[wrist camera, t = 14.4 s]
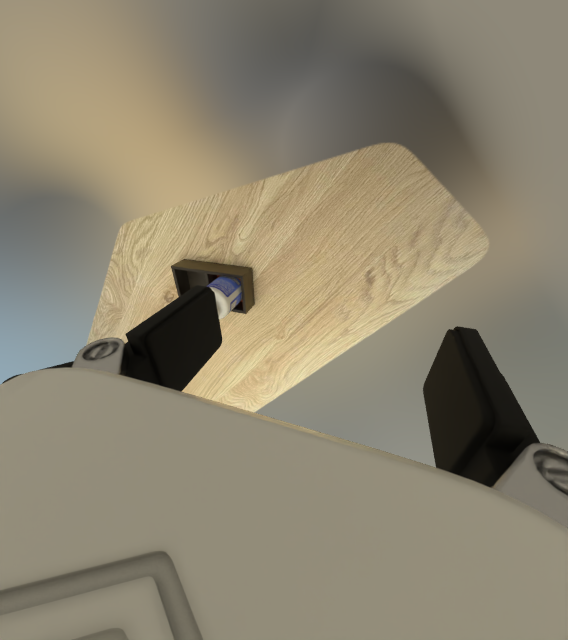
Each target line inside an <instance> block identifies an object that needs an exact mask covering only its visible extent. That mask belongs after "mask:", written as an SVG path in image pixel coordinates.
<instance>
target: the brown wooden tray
mask: <svg viewBox="0 0 568 640" xmlns="http://www.w3.org/2000/svg"><path fill="white" fill-rule="evenodd" d="M171 268H172V272H173V276H174V280H175V284H176V288H177V292H178V296H179V297H180V296H181V295H183V294H184V293H186V292H187V291H189V290H190V289H192V288H193V287H195V286H196V285H200V286H208V285H209V284H210V283H212V282H213V281H214V280H215V279H217V278H218V277H219V276H227V277H234V278H240V281H241V291H242V300H241V301H240V302H239V303H238V304H237V305H236V306H235V307H234V308H233V309H232V310H231V311H233V312H238V313H244V314H247V312H248V311H249V310H250V309H251V308H252V307H253V305H254V289H253V275H252V268H248V267H240V266H232V265H225V264H217V263H209V262H201V261H194V260H186V259H184V260H182V261H180V262H178V263H176V264H174V265H172V266H171Z"/></svg>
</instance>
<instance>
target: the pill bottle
mask: <svg viewBox="0 0 568 640" xmlns="http://www.w3.org/2000/svg"><path fill="white" fill-rule="evenodd" d="M206 287H210V288H211V289H212V291H214V293H215V298H216V304H217V310H218V316H219V319H222V318H224V317H225V316H227V315H228V314H229V312H230V311H231V310H232V309H233V308H234V307H235V306H236V305H237V304H238V303H239V302H240V301H241V300H242V291H241V281H240V278H234V277H227V276H219V277H218V278H217V279H215V280H214V281H213V282H212V283H210V284H209V285H208V286H206Z"/></svg>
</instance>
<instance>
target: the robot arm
mask: <svg viewBox="0 0 568 640" xmlns="http://www.w3.org/2000/svg"><path fill="white" fill-rule="evenodd" d="M126 336H127V339H128V342H127V343H126V344H124V342H123V341H122V340H121V339H119V338H104V339H100V340H97V341H95V342H92V343H90V344H88V345H87V346H85V347H84V348H83V349H81V350H80V351H79V353H78V354H77V356H76V359H75V361H73V362H69V363H65V364H61V365H57V366H53V367H49V368H45V369H41V370H37V371H32V372H28V373H25V374H20V375H16V376H13V377H11V378H9V379H7V380H6V381H4V382H3V384H1V385H0V640H568V451H566V450H564V449H561V448H559V447H556V446H553V445H550V444H544V443H540V442H539V440H538V438H537V436H536V434H535V433H534V431H533V429H532V427H531V425H530V423H529V422H528V420H527V418H526V416H525V414H524V413H523V411H522V409H521V407H520V405H519V404H518V402H517V400H516V398H515V396H514V394H513V393H512V391H511V389H510V387H509V385H508V383H507V382H506V381H505V378H504V376H503V375H502V374H501V373H500V371H499V370H498V368H497V366H496V364H495V362H494V361H493V359H492V357H491V355H490V353H489V351H488V349H487V348H486V346H485V344H484V342H483V340H482V339H481V336H480V335H479V333H478V331H477V330H476V329H470V328H464V327H455V328H454V330H450V329H449V330H448V331H447V333H446V335H445V337H444V340H443V342H442V344H441V346H440V349H439V351H438V353H437V356H436V358H435V360H434V362H433V365H432V367H431V369H430V371H429V374H428V376H427V378H426V381H425V383H424V387H423V394H424V399H425V405H426V411H427V416H428V423H429V429H430V434H431V440H432V446H433V452H434V458H435V463H436V468H435V467H432V466H429V465H426V464H423V463H420V462H416V461H413V460H410V459H406V458H403V457H400V456H397V455H394V454H391V453H388V452H384V451H381V450H378V449H375V448H371V447H368V446H365V445H361V444H358V443H354V442H351V441H348V440H344V439H341V438H338V437H334V436H331V435H328V434H324V433H321V432H317V431H314V430H311V429H308V428H304V427H300V426H298V425H294V424H291V423H287V422H284V421H281V420H277V419H274V418H270V417H267V416H263V415H260V414H257V413H253V412H250V411H246V410H243V409H240V408H236V407H233V406H229V405H226V404H222V403H219V402H215V401H212V400H209V399H205V398H202V397H198V396H195V395H191V394H188V393H184V392H181V391H182V390H183V389H184V388H185V387H186V386H187V384H188V383H189V382H190V381H191V380H192V379H193V377H194V376H195V375H196V374H197V373H198V372H199V371H200V369H201V368H202V367H203V366H204V365H205V364H206V362H207V361H208V360H209V359H210V358H211V357H212V355H213V354H214V353H215V352H216V351H217V350H218V348H219V347H220V346H221V344H222V335H221V329H220V322H219V316H218V310H217V304H216V298H215V293H214V291H212V289H211V288H210V287H206V286H200V285H196V286H195V287H193V288H192V289H190V290H189V291H187V292H186V293H184V294H183V295H181V296H180V297H179V298H177V299H176V300H174V301H173V302H171V303H170V304H168V305H167V306H166V307H164V308H163V309H161V310H160V311H158V312H157V313H155V314H154V315H152V316H151V317H150V318H148V319H147V320H145V321H144V322H142V323H141V324H139V325H138V326H136V327H135V328H134V329H132V330H131V331H129V332H128V333H126Z"/></svg>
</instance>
